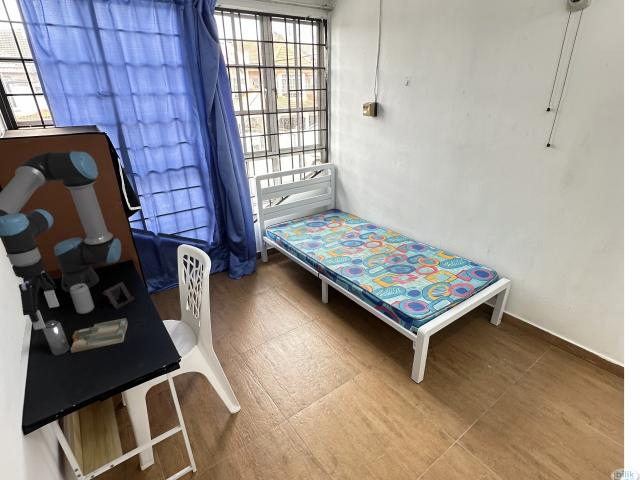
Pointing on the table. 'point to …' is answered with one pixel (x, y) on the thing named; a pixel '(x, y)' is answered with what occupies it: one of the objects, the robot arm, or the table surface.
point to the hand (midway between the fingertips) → (47, 317)
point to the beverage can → (81, 298)
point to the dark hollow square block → (115, 293)
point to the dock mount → (102, 335)
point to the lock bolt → (80, 335)
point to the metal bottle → (56, 337)
